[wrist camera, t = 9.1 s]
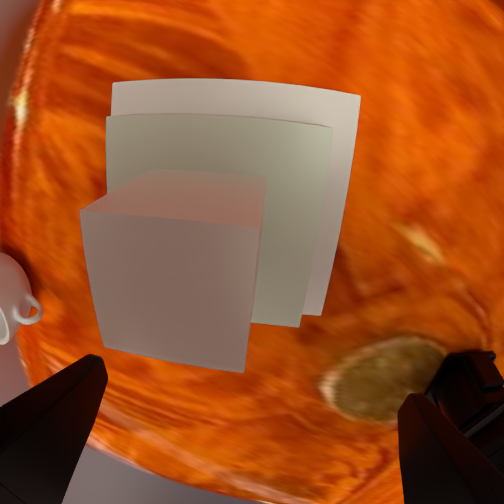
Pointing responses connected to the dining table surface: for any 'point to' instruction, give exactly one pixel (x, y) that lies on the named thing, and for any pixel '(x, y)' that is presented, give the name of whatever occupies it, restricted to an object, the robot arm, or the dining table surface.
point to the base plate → (267, 106)
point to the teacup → (15, 299)
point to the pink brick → (177, 265)
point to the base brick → (245, 163)
